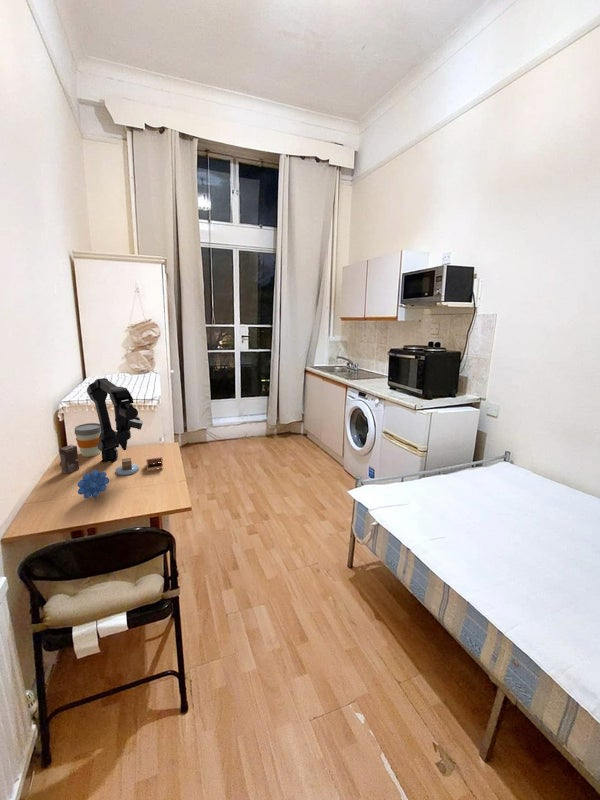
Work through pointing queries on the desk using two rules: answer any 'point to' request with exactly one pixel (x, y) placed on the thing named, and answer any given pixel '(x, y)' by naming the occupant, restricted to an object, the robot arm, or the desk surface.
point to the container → (154, 459)
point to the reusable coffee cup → (88, 438)
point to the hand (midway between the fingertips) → (125, 446)
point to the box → (69, 458)
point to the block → (126, 464)
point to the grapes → (93, 484)
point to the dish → (127, 472)
